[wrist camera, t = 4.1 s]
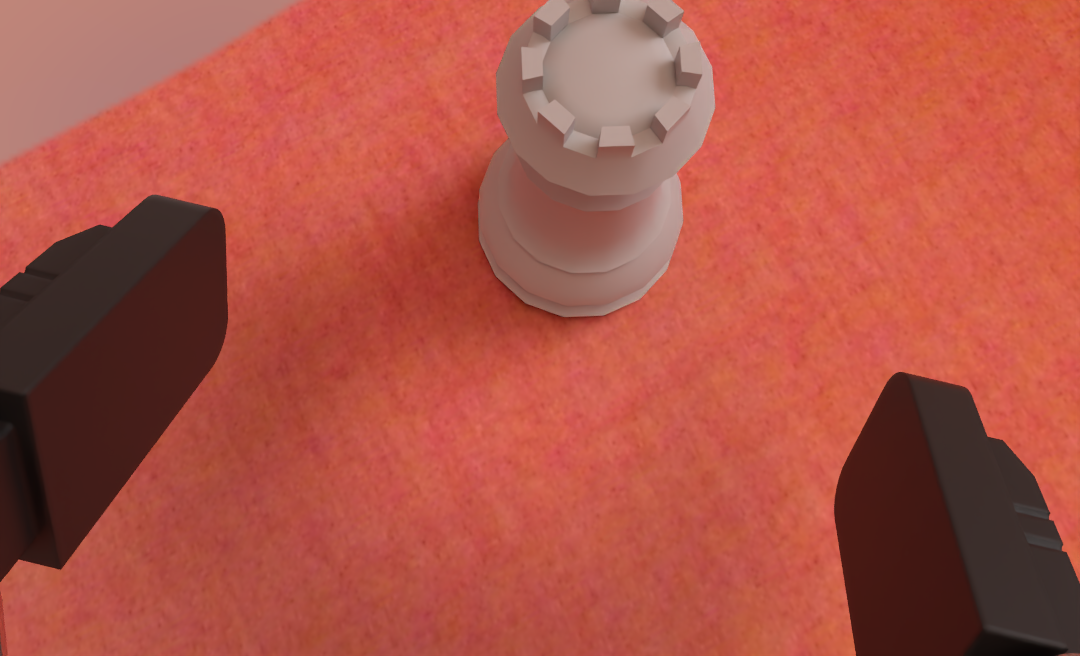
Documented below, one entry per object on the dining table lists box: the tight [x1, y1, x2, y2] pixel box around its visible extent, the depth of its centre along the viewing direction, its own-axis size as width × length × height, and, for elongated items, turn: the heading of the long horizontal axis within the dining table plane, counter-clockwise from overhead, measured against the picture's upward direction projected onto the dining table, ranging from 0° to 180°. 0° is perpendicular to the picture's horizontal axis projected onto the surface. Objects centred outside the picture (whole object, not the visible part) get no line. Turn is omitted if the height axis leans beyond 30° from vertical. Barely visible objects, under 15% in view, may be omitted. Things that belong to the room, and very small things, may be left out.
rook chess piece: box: [478, 0, 715, 317], centre depth 16 cm, size 4×4×8 cm
